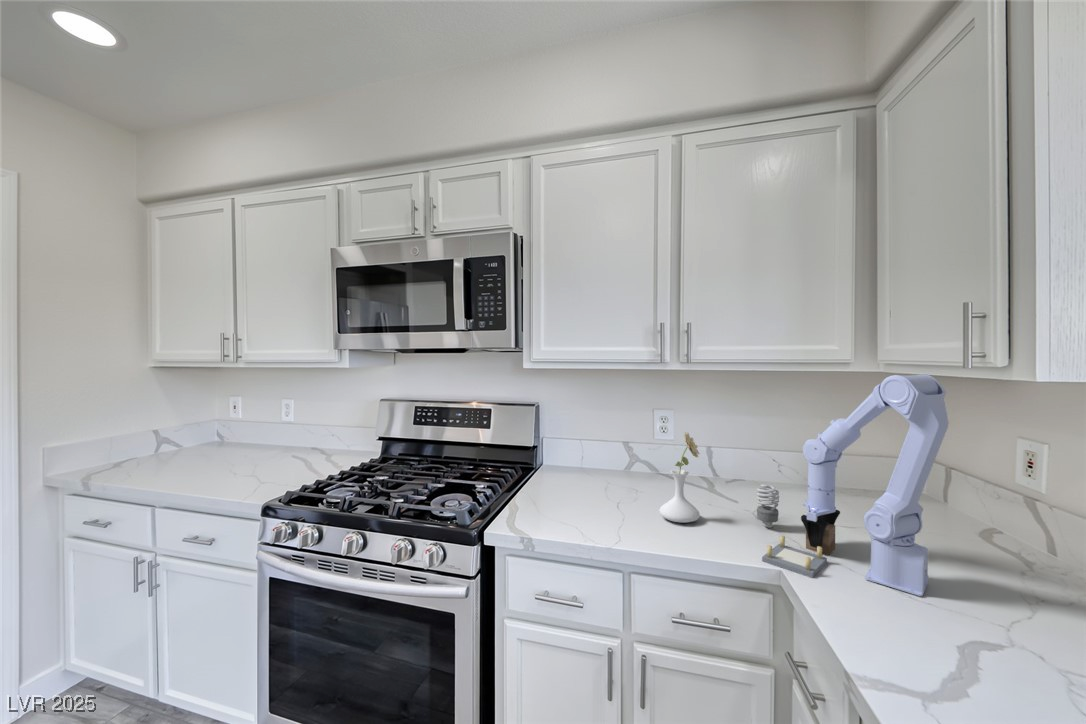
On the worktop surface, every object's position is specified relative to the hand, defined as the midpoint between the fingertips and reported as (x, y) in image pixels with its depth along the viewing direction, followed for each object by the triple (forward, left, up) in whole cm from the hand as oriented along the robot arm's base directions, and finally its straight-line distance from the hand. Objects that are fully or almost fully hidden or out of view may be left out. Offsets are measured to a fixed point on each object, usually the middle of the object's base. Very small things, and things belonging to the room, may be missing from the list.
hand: (820, 542), depth 110 cm
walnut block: (0, 0, -2) cm, 2 cm away
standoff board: (+2, +12, -2) cm, 12 cm away
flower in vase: (+34, +7, -2) cm, 35 cm away
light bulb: (+14, -4, -2) cm, 15 cm away
